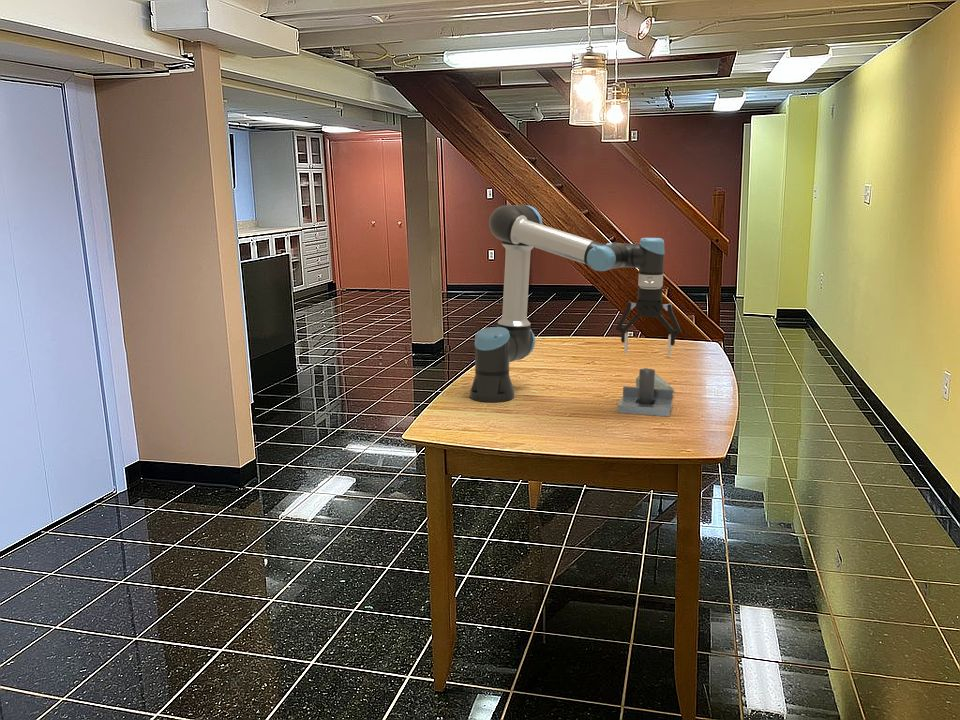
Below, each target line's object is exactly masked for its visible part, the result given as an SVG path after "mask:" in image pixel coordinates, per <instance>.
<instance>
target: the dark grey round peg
mask: <svg viewBox="0 0 960 720" xmlns="http://www.w3.org/2000/svg"><path fill="white" fill-rule="evenodd" d="M643 368H644V369H643ZM643 368H640V369H639V373H638V374H639V375H638V376H639V398H638V403H639V404H653V403H654V379H655V373H656V370H655V369H653V368H648V367H643Z"/></svg>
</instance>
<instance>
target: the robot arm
mask: <svg viewBox="0 0 960 720" xmlns="http://www.w3.org/2000/svg"><path fill="white" fill-rule="evenodd" d="M488 226H489V230H490V233H491V234H492V235H493V236H494V237H495V238H496V239H498V240H499V241H501V245H502V247H504V249H505V257H504V258H505V259H504V276H503V277H504V279H503V280H504V281H503V296H502V299H503V300H502V315H501V318H500V319H499V320H498V321H497V326H492V327H484V328H482V329H479V330H478V331H477V332H476V333H475V337H474V377H473V381H472V384H471V388H470V389H469V390H470V391H469V392H470V393H469V397H470V399H471V400H474V401H477V402H484V403H500V402H507V401H508V402H509V401H510V400H513V399H514V398H515V389H514V386H513V383H512V380H511V376H510V363H512V362H516V361H520V360H522V359H524V358H526V357H527V356H529V355H531V353H532V352H533V350H534V348H535V345H536V336H535V334H534V332H533V330H532V329H531V324H532V323H531V322H530V321H529V320H528V303H529V302H528V301H529V283H530V271H531V270H530V267H531V251H532V250H533V249H534V248H535V249H539V250H541V251H544V252H548V253H551V254H553V255H555V256H556V255H557V256H560V257H562V258H566V259H569V260H572V261H575V262H577V263H581V264H583V265H587V266H589V267H590V269H592V270H594V271H596V272H606V271H607V272H608V270H613V269H619V268H634V269H638V283H637V285H638V286H639V288H637V301H636V302H632V301H628V302H627V304H626V309H625V311H624V313H623V315H622V317H621V318H620V320H619V322H618V324H617V326H616V327H615V330H616V331H618V332H620V333H621V336H620V339H621V340H620V341H621V343H624V344H623V345H624V348H623V350H624V351H623V354H627V353H628V349H629V347H628V346H629V344H628V343H629V331H627V330H629V328H630V327H632V325H633V324H634V323H635V322H636V321H637V320H638V319H639V318H640V317H643V318H652V319H653V318H657V319H658V320H659V321H660V323H661V324H662V325H663V326H664V328H665V329H666V330H667V331H668V333H669V334H668V338H667V355H666V356H667V357H670V356H671V354H672V353H671V352H672V346H675V343H676V342H675V341H676V335H680V334H681V333H682V329H681V327H680V324H679V322H678V320H677V318H676V315H675V314H674V313H675V312H674V311H673V304H672V303H671V302H669V303H667V304H665V303H664V304H663V289H662V287H663V285H664V265H665V253H666V252H665V241H664V239H663V238H661V237H641V238H640V241H639V243H626V242H625V243H623V242H607V243H606V244H604V243H601V242H598V241H595V240H592V239H588V238H585V237H582V236H578V235H575V234H573V233H569V232H566V231H563V230H560V229H556V228H554V227H550V226H547V225H544V224H543V218H542V216H541V214H540V212H539V211H538V210H537V209H536V208H535V207H533V206H532V205H527V204H526V205H525V204H513V205H512V204H511V205H509V204H506V205H501V206H498V207H496V208H495V209H494V210H493V212H491V214H490V215H489V220H488ZM634 308H636V309H637V311H638V312H637V313H636V314H635V315H634V316H633V317H632V318H631V320H629V321H628V323H626V324H625V326H624V327H623V325H624V322H626V319H627V317H628V316H629V313H630V312H631V310H634ZM663 309H664V310H665V312H667V313H668V316H669V318H670V320H671V322H672V325H673V327H674V328H673V327H672V326H671V324H670V323H669V322H668V320H667V319H666V318H665V317H664V316H663V315H664V314H662V313H661V311H662V310H663Z"/></svg>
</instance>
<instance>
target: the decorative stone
mask: <svg viewBox="0 0 960 720" xmlns="http://www.w3.org/2000/svg"><path fill="white" fill-rule="evenodd" d="M644 368H645V367H643V368H642V369H644ZM635 385H636V386H635V387H639V375H637V376H636V378H635ZM654 388H659V389H673V394H674V393H675V389H674V387H673V386H671V385H670V384H669V383H668V382H667V381H666V380H664V379H663V378H662V377H661V376H660V375H658V374H657V373H656V372H655V379H654Z"/></svg>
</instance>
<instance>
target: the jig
mask: <svg viewBox="0 0 960 720" xmlns="http://www.w3.org/2000/svg"><path fill="white" fill-rule="evenodd" d="M673 389H674V388H673ZM673 389H659V388H654V403H653V404H639V403H638V398H639V387H636V386H628V385H623V387H622V397H621V399H620V401H619V402H618V404H617V414H627V415H629V414H630V415H631V414H632V415H640V416H641V415H643V416H654V415H655V416H656V417H667V418H668V417H670V416H671V415H670V414H671V412H672V408H673V402H674V401H673V397H674V396H673V395H674V393H673ZM655 416H654V417H655Z"/></svg>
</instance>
